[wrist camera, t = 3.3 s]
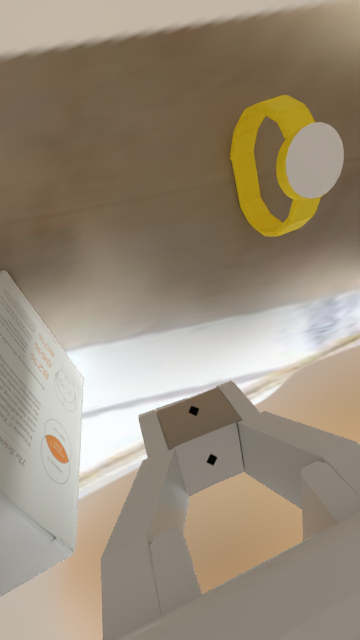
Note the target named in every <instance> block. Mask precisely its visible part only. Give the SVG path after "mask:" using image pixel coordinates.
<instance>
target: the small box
mask: <svg viewBox="0 0 360 640" xmlns="http://www.w3.org/2000/svg"><path fill="white" fill-rule="evenodd" d="M83 380H84V378H83V376H82V374H81V373H80V372H79V371H78V369H77V368H76V366H75V365H74V364H73V362H72V361H71V360H70V358H69V357H68V356H67V354H66V353H65V351H64V350H63V349H62V347H61V346H60V345H59V343H58V342H57V340H56V339H55V338H54V336H53V335H52V333H51V332H50V331H49V329H48V328H47V327H46V325H45V324H44V322H43V321H42V320H41V318H40V317H39V315H38V314H37V313H36V311H35V310H34V309H33V307H32V306H31V305H30V303H29V302H28V300H27V299H26V298H25V296H24V295H23V293H22V292H21V291H20V289H19V288H18V287H17V285H16V284H15V282H14V281H13V280H12V278H11V277H10V275H9V274H8V272H7V271H6V270H2V271H0V597H1V596H2V595H4V594H6V593H7V592H9V591H11V590H13V589H14V588H16V587H18V586H20V585H22V584H23V583H25V582H27V581H29V580H30V579H32V578H34V577H35V576H37V575H39V574H41V573H43V572H44V571H46V570H48V569H49V568H51V567H53V566H55V565H56V564H58V563H60V562H62V561H63V560H65V559H67V558H68V557H70V556H71V555H72V554H73V553H74V550H75V547H76V529H77V509H78V488H79V467H80V445H81V425H82V402H83Z"/></svg>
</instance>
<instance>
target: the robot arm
mask: <svg viewBox="0 0 360 640" xmlns="http://www.w3.org/2000/svg"><path fill="white" fill-rule="evenodd" d="M155 410H156V411H155ZM155 410H152V411H149V412H146V413H143V414H140V415H139V423H140V427H141V431H142V435H143V439H144V444H145V448H146V452H147V456H148V459H146V460H143V461H142V464H141V466H140V468H139V471H138V473H137V475H136V478H135V480H134V482H133V485H132V487H131V489H130V492H129V494H128V496H127V499H126V501H125V503H124V506H123V508H122V510H121V513H120V515H119V518H118V520H117V522H116V525H115V527H114V529H113V532H112V534H111V536H110V539H109V541H108V543H107V546H106V548H105V550H104V553H103V555H102V557H101V581H102V621H103V640H360V445H359V444H358V443H357V442H355V441H352V440H349V439H346V438H343V437H340V436H337V435H335V434H332V433H329V432H326V431H323V430H320V429H317V428H314V427H311V426H308V425H305V424H302V423H299V422H296V421H293V420H290V419H287V418H284V417H281V416H278V415H275V414H272V413H269V412H266V411H264V412H262V413H260V412H259V411H258V409H257V408H256V407H255V406H254V405H253V404H252V403H251V401H250V400H249V399H248V398H247V397H246V396H245V395H244V393H243V392H242V391H241V390H240V389H239V388H238V387H237V385H236V384H235V383H234V382H232V381H229V382H226V383H224V384H221V385H219V386H216V387H215V388H212V389H210V390H207V391H204V392H202V393H199V394H196V395H194V396H191V397H189V398H185V399H183V400H180V401H177V402H174V403H171V404H168V405H165V406H162V407H160V408H157V409H155ZM156 413H157V414H156ZM242 472H246V474H248V475H250V476H251V477H253V478H254V479H256V480H257V481H259V482H260V483H262V484H264V485H265V486H267V487H268V488H270V489H271V490H273V491H274V492H276V493H277V494H279V495H281V496H282V497H284V498H285V499H287V500H289V501H290V502H292V503H293V504H295V505H296V506H298V507H300V508H301V509H302V514H303V515H302V516H303V542H301V543H299V544H297V545H295V546H293V547H291V548H289V549H288V550H285V551H284V552H282V553H280V554H278V555H276V556H274V557H272V558H270V559H268V560H266V561H265V562H263V563H261V564H259V565H257V566H255V567H253V568H251V569H249V570H247V571H245V572H243V573H242V574H240V575H238V576H236V577H234V578H232V579H230V580H228V581H226V582H224V583H222V584H221V585H219V586H217V587H215V588H213V589H211V590H209V591H207V592H205V593H202V590H201V587H200V583H199V581H198V577H197V574H196V571H195V568H194V565H193V562H192V559H191V556H190V553H189V550H188V547H187V544H186V541H185V538H184V528H185V522H186V516H187V510H188V504H189V496H191V495H193V494H195V493H197V492H199V491H201V490H203V489H205V488H207V487H210V486H211V485H214V484H216V483H218V482H220V481H223V480H225V479H228V478H230V477H233V476H235V475H237V474H240V473H242Z"/></svg>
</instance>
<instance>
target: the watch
mask: <svg viewBox="0 0 360 640" xmlns="http://www.w3.org/2000/svg"><path fill="white" fill-rule="evenodd" d="M266 116H267V117H269V118H270V119H272V120H273V121H275V122H276V123H277V124H278V126H279V128H280V130H281V132H282V134H283V136H284V138H285V141H284V142H283V144H282V146H281V148H280V150H279V153H278V157H277V162H276V176H277V179H278V183H279V186H280V187H281V189H282V190H283V192H284V193H285V194H286V195H287V196H288V197H290V198H291V199H293V201H292V205H291V209H290V213H289V217H288V218H287V219H286V220H285V221H284V222H282V221H280V220H279V219H277V218H276V217H274V216H273V215H272V214H271V213H270V212H269V210H268V208H267V207H266V205H265V203H264V202H263V200H262V199H261V195H260V188H259V182H258V175H257V169H256V162H255V156H254V147H255V142H256V137H257V132H258V128H259V126H260V125H261V123H262V121H263V120H264V118H265V117H266ZM230 156H231V157H230V160H232V165H233V171H234V176H235V182H236V187H237V192H238V198H239V203H240V208H241V210H242V212H243V214H244V215H245V217H246V219H247V220H248V222H249V223H250V224H251V226H252V227H254V228H255V229H256V230H257V231H258V232H260V233H261V234H262V235H264V236H281V235H283V234H286V233H288V232H291V231H294V230H296V229H299V228H301V227H302V226H303V225H304V224H305V223H306V222H307V221H309V220H310V219H311V218H312V217H313V216H314V214H315V213H316V210H317V208H318V205H319V202H320V199H321V196H323V195H325V194H326V193H327V192H328V191H329V190H330V189H331V188H332V187H333V186H334V185H335V183H336V181H337V180H338V178H339V176H340V174H341V170H342V167H343V161H344V149H343V144H342V140H341V138H340V136H339V134H338V132H337V131H336V130H335V129H334V128H333V127H332V126H331V125H329V124H326V123H323V122H315V120H314V119H313V117H312V115H311V113H310V111H309V109H308V107H307V108H306V105H305V104H303V103H302V102H300V101H298V100H296V99H294V98H292V97H290V96H289V95H281V96H278V97H275V98H272V99H268V100H265V101H262V102H259V103H257V104H255V105H252V106H250V107H248V108H246V109H245V111H243V113H242V115H241V117H240V119H239V121H238V123H237V125H236V127H235V129H234V132H233V138H232V145H231V153H230Z"/></svg>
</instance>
